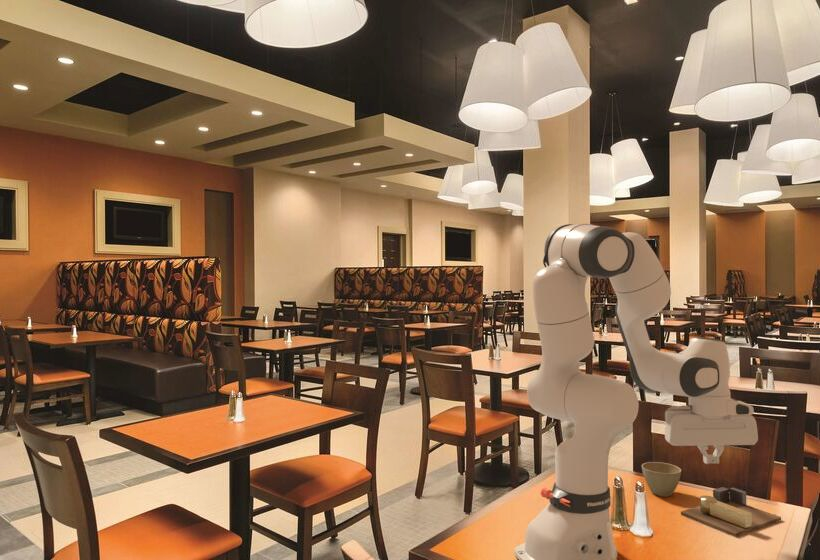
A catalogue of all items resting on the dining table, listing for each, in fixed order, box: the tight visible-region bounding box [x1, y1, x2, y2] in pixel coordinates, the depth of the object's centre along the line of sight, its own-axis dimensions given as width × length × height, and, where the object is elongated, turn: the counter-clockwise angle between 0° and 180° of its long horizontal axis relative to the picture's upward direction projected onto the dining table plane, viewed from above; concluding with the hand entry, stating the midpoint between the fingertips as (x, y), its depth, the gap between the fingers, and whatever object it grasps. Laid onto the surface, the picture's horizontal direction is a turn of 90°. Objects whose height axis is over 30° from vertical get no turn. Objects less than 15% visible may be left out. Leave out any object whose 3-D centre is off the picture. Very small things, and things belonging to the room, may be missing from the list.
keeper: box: [712, 486, 747, 506], centre depth 143 cm, size 6×5×3 cm
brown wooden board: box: [680, 502, 782, 537], centre depth 136 cm, size 18×14×1 cm
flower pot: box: [641, 461, 682, 497], centre depth 153 cm, size 10×10×7 cm
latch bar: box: [699, 495, 752, 528], centre depth 134 cm, size 12×4×3 cm, turn 27°
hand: (711, 463), depth 131 cm, fingers closed
